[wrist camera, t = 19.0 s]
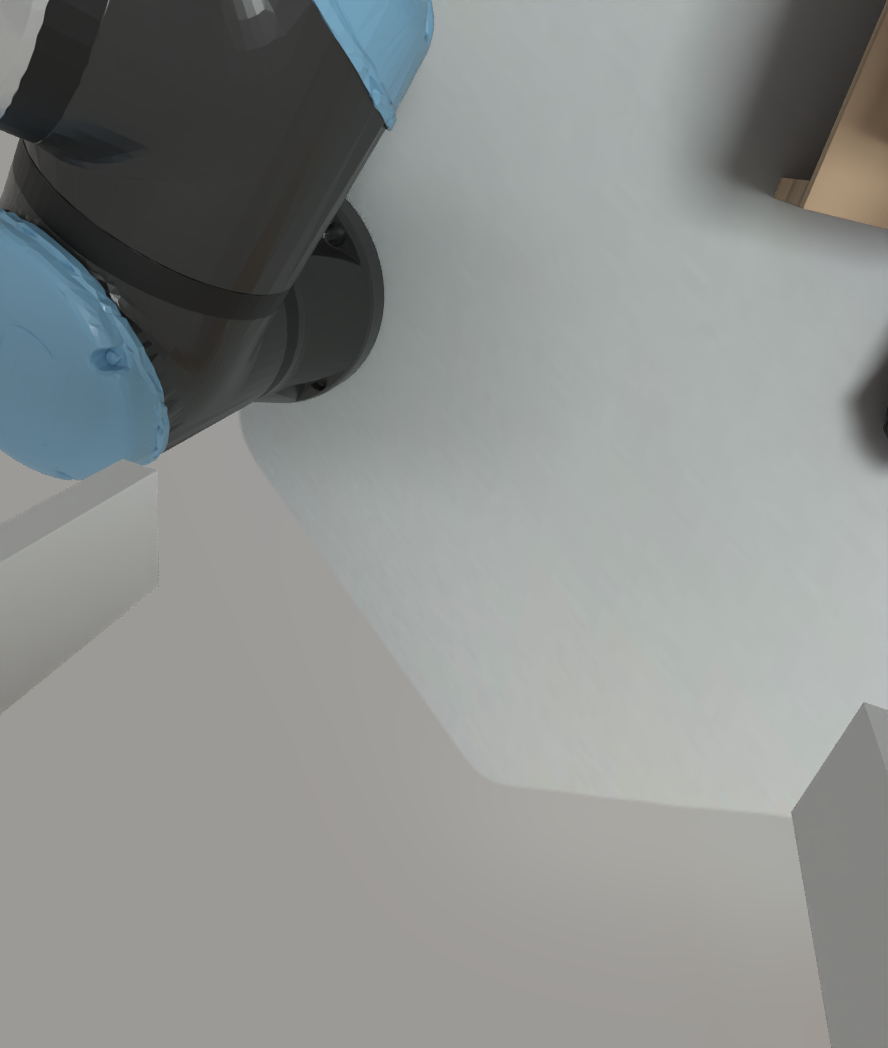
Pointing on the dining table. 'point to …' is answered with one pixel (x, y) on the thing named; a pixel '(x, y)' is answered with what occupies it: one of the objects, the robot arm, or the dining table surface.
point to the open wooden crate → (854, 147)
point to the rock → (886, 424)
